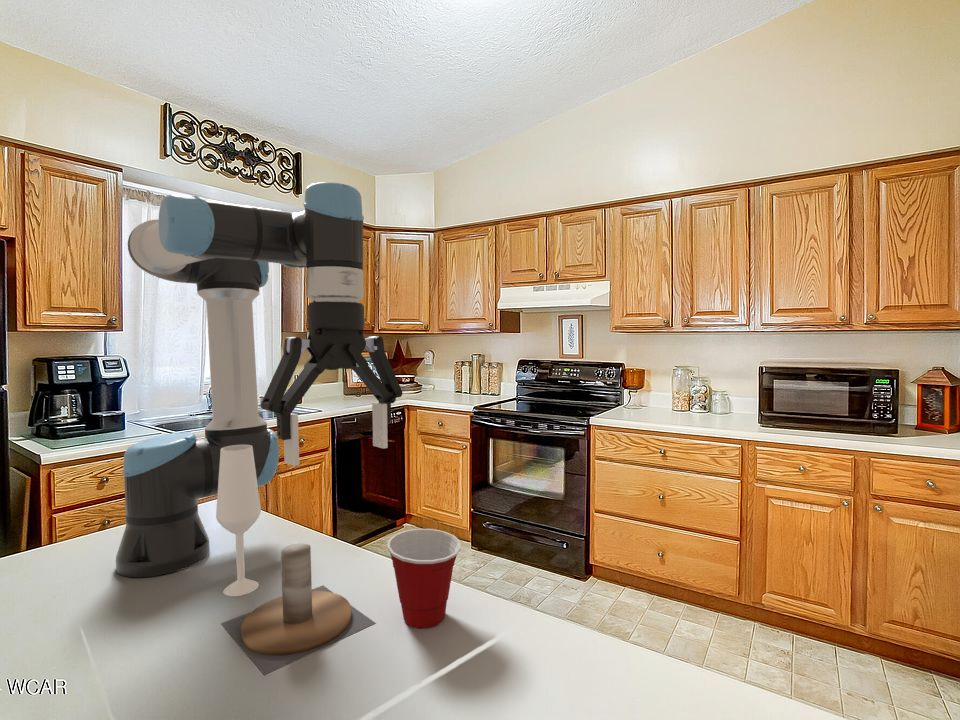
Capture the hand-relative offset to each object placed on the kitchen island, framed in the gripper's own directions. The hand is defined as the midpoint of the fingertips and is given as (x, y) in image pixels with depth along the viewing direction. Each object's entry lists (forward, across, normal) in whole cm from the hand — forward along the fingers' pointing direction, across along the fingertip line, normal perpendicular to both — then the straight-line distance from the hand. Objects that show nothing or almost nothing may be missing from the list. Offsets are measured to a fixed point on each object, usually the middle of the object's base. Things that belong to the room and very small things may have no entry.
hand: (339, 454), depth 71 cm
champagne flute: (+26, -5, +23) cm, 35 cm away
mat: (+26, -4, +6) cm, 27 cm away
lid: (+25, -4, +6) cm, 26 cm away
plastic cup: (+26, +10, -6) cm, 28 cm away
